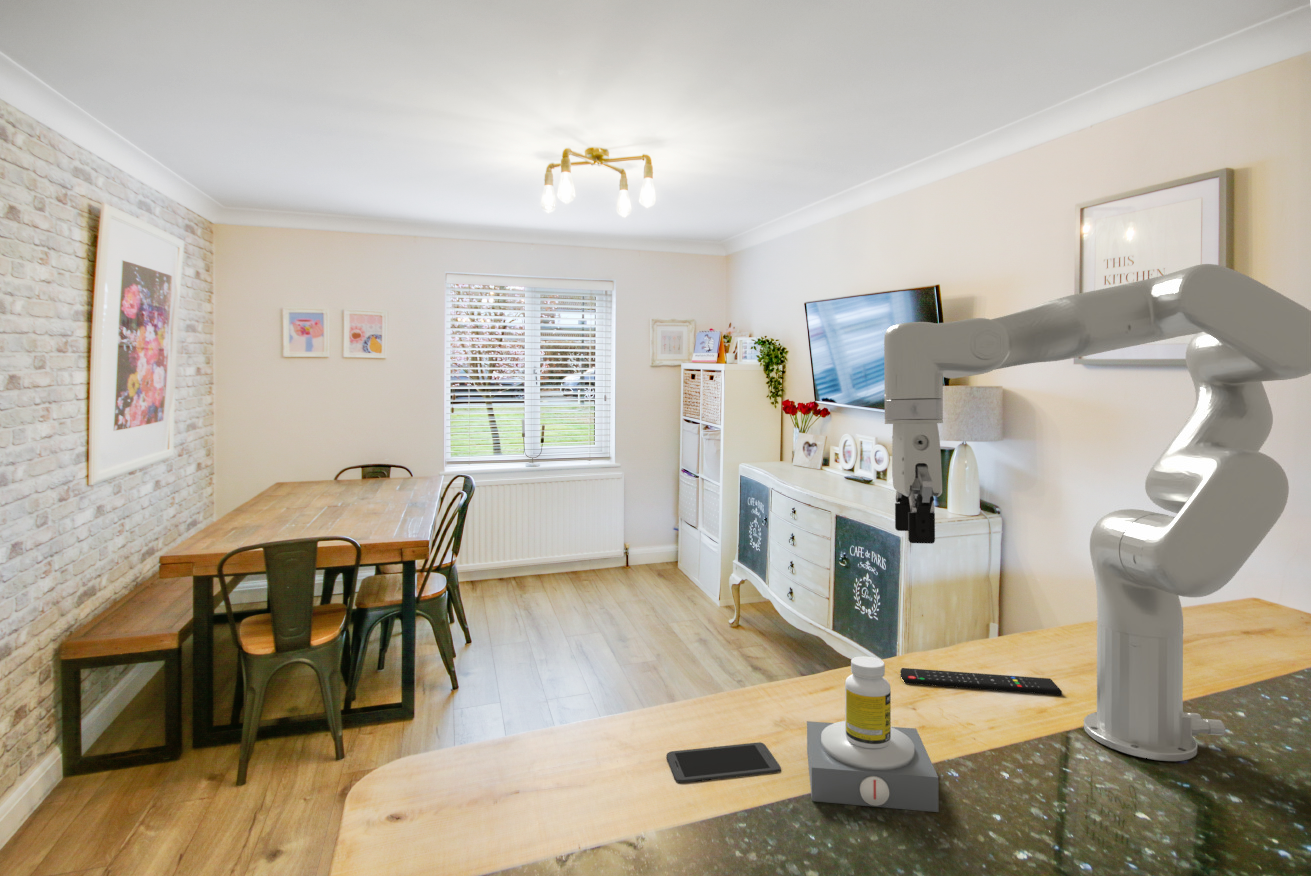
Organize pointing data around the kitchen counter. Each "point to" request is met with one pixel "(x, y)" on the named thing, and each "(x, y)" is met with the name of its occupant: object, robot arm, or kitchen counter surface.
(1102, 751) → the kitchen counter surface
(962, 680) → the remote control
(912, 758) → the kitchen scale
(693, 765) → the cell phone
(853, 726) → the supplement bottle
